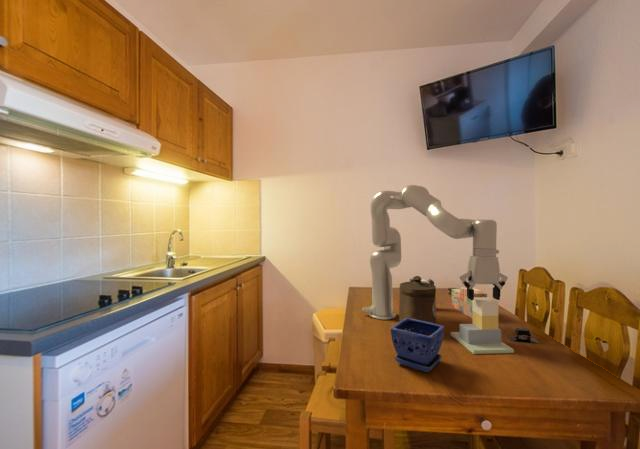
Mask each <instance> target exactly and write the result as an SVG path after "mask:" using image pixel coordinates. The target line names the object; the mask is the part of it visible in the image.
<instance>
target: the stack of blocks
mask: <svg viewBox="0 0 640 449" xmlns="http://www.w3.org/2000/svg"><path fill="white" fill-rule="evenodd" d="M472 289H474V298H476V297H488V293H487V292H485V291H483V290H480V289H478V288H475V287H473V288H472ZM450 290H451V291H450V292H451V293H450V294H451V306H452V307H453V308H454V309H456V310H458V312H460V313H462V314H464V315H465V316H467V317H469V318H470V319H472V320H473V317H472V300H470V299H468V298H467V288H466V287H465V286H464V287H463V286H462V287H460V288H451V289H450Z"/></svg>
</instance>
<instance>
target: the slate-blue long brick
mask: <svg viewBox="0 0 640 449" xmlns="http://www.w3.org/2000/svg"><path fill="white" fill-rule="evenodd" d="M459 332H460V338H461V339H463V340H464V341H465V342H466V343H468V344H489V343H501V342H502V328H499V327H498V329H495V330H482V329H480V328H478V327H477V326H475V325H474V324H473V323H460V324H459Z"/></svg>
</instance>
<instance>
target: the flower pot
mask: <svg viewBox="0 0 640 449" xmlns="http://www.w3.org/2000/svg"><path fill="white" fill-rule="evenodd" d="M412 328H413V329H412ZM405 329H406V331H405ZM409 329H410V331H409ZM420 330H422V332H420ZM413 332H416V333H413ZM427 333H429V334H430V335H428V334H427ZM390 336H391V341H392V345H393V348H394V350H395V353H396V355H395V356H394V359H395V361H396V362H397V363H398V364H400V365H403V366H407V367H409V368H412V369H414V370H418V371H421V372H424V373H430V371H432V370H433V369H434V368H435V366H437V364H438V363H439V361H440V360H441V359H442V357H443V355H442V354H440V353H439V352H440V349H441V347H442V344H443V341H444V336H445V326H444V325H441V324H438V323H436V324H434V323H429V322H425V321H420V320H416V319H411V318H406V319H404V320H402V321H400V322H397V323H396V324H394V325H393V326H392V327H391V328H390Z"/></svg>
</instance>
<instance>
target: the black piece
mask: <svg viewBox="0 0 640 449" xmlns="http://www.w3.org/2000/svg"><path fill="white" fill-rule="evenodd" d="M506 337H507V338H508V339H509V341H510V342H515V343H525V344H537V345H541V343H540V342H539V341H538V340H537V339H536V338H535V337H532V334H531V330H529V329H528V327H526V328H525V327H515V329H514V336H513V335H506Z"/></svg>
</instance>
